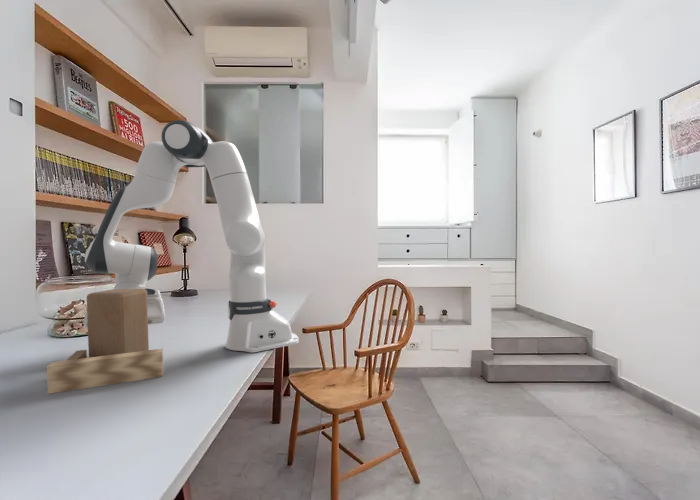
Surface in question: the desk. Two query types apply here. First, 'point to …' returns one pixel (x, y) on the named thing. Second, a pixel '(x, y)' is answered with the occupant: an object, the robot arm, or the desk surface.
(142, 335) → the block
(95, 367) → the tan wooden slab
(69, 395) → the desk surface
